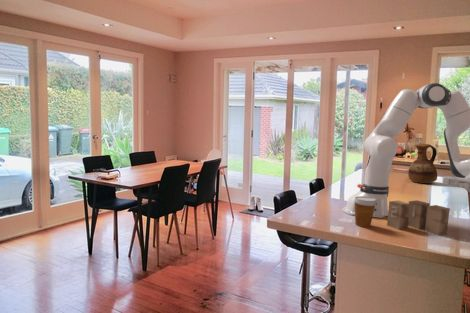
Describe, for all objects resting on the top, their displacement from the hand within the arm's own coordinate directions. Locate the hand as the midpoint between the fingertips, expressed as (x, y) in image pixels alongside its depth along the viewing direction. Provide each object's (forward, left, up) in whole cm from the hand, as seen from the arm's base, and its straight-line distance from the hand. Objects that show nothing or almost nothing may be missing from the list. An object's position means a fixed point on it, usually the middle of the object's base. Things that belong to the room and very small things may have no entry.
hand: (457, 185), depth 163 cm
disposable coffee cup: (-40, +1, -20) cm, 45 cm away
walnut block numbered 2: (-25, +1, -20) cm, 32 cm away
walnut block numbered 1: (-15, +2, -20) cm, 25 cm away
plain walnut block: (-11, -6, -20) cm, 23 cm away
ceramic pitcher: (+53, +121, -20) cm, 134 cm away
